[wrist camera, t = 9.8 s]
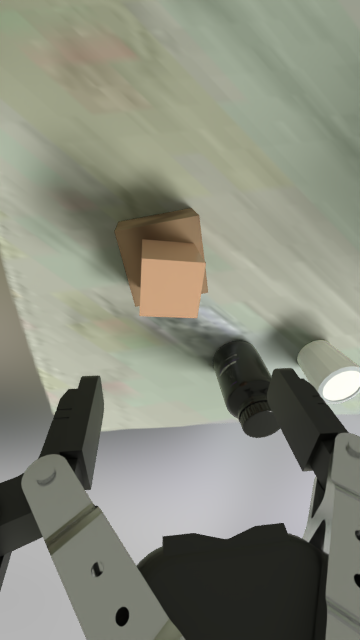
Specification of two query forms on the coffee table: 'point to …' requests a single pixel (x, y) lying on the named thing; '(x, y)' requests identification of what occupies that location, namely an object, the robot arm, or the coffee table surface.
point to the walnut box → (158, 228)
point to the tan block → (170, 279)
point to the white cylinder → (329, 371)
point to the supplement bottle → (245, 387)
